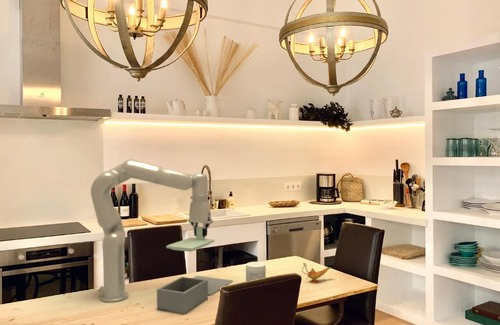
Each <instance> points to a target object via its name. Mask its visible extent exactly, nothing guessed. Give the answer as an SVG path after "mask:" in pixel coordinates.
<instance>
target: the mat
mask: <svg viewBox="0 0 500 325" xmlns="http://www.w3.org/2000/svg"><path fill="white" fill-rule="evenodd" d="M193 278H195V279H202V280H208V296H213V295H215V294H216V293H217V292H219V291H220V288H221V287H223V286H225V287H227V286H229V285H230V284H231V283H233V282H234V280H232V279H226V278H225V279H223V278H217V277H210V276H201V275H196V276H193ZM226 285H227V286H226Z"/></svg>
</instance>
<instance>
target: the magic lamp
mask: <svg viewBox="0 0 500 325" xmlns="http://www.w3.org/2000/svg"><path fill="white" fill-rule="evenodd" d="M302 264H303V267H302V268H301V272H302V273H303V274H305V275H306V276H307V278H309V279H310V280H309V281H308V283H310V284H319V283H320V281H319V280H318V279H319V278H321V277H323V275H325V274H326V273H327V272H328V271H329V269H331V268H332V267H331V266H329V267H326V268H324V269H322V270H319V271H316V270H314V268H313V267H312V268H311V269H310V271H308V269H307V264H306V262H303V263H302ZM304 268H305V271H306V272H304Z"/></svg>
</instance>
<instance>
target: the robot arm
mask: <svg viewBox="0 0 500 325" xmlns="http://www.w3.org/2000/svg"><path fill="white" fill-rule="evenodd" d="M130 179H134V180H139V181H143V182H146V183H147V182H148V183H151V184H155V185H161V186H165V187H169V188H173V189H177V190H181V191H187V190H190V189H191V188H192V191H191V192H192V194H191V196H190V200H192V201H190V204H189V214H188V216H189V218H188V219H187V222H189V224H190V225H191V226H192V228H193V233H194V237H196V227H199V223H200V224H201V223H202V227H203V229H202V236H203V237H205V238H206V237H207V236H208V228H209V227H210V226H211V225H212V224H214V220H213V219H212V215H211V214H212V213H211V206H210V202H209V200H208V199H209V196H208V195H209V194H208V193H209V190H208V189H209V187H208V183H209V182H208V175H207V174H205V173H193V174H192V173H181V172H178V171H177V172H176V171H173V170H170V169H167V168H164V167H162V166H159V165H156V164H152V163H148V162H143V161H139V160H136V159H133V158H132V159H127V160H125V161H123V163H120V164H118V165H116V166H115V167H113V168H111V169H109V170H105V171H103V172H102V173H100V174H99V175H98V176H96V177H95V179H94V180H93V182H92V184H91V187H90V197H91V200H92V205H93V209H94V212H95V216H96V220H97V224H98V226H99V227H100V228H102V231H103V234H104V237H103V239H102V244H101V245H102V258H103V259H102V262H103V263H102V266H103V285H102V286H100V287H99V288H98V289H97V290H98V292H99V293H101V295H100V299H99V300H101V301H102V302H105V303H115V302H120V301H124V300H126V299H127V298H128V297H129V293H128V292H127V291H126V279H125V278H126V277H125V276H126V273H125V271H126V270H125V264H126V263H125V242H126V238H127V236H126V232H125V228H124V224H123V221H122V217H121V215H120V212H119V211H118V210H117V209H116V208H115V206H114V203H113V198H112V196H111V190H112V189H114V188H115V187H117V186H119V185H120V184H123V183H125V182H126V181H128V180H130Z"/></svg>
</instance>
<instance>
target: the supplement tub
mask: <svg viewBox="0 0 500 325" xmlns="http://www.w3.org/2000/svg"><path fill="white" fill-rule="evenodd" d="M266 269H267V268H266V263H264V262H262V261H250V262H247V263H246V264H245V282H246V281H251V280H257V279H262V278H266V277H267V276H266V272H267V270H266ZM266 279H267V278H266Z"/></svg>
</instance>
